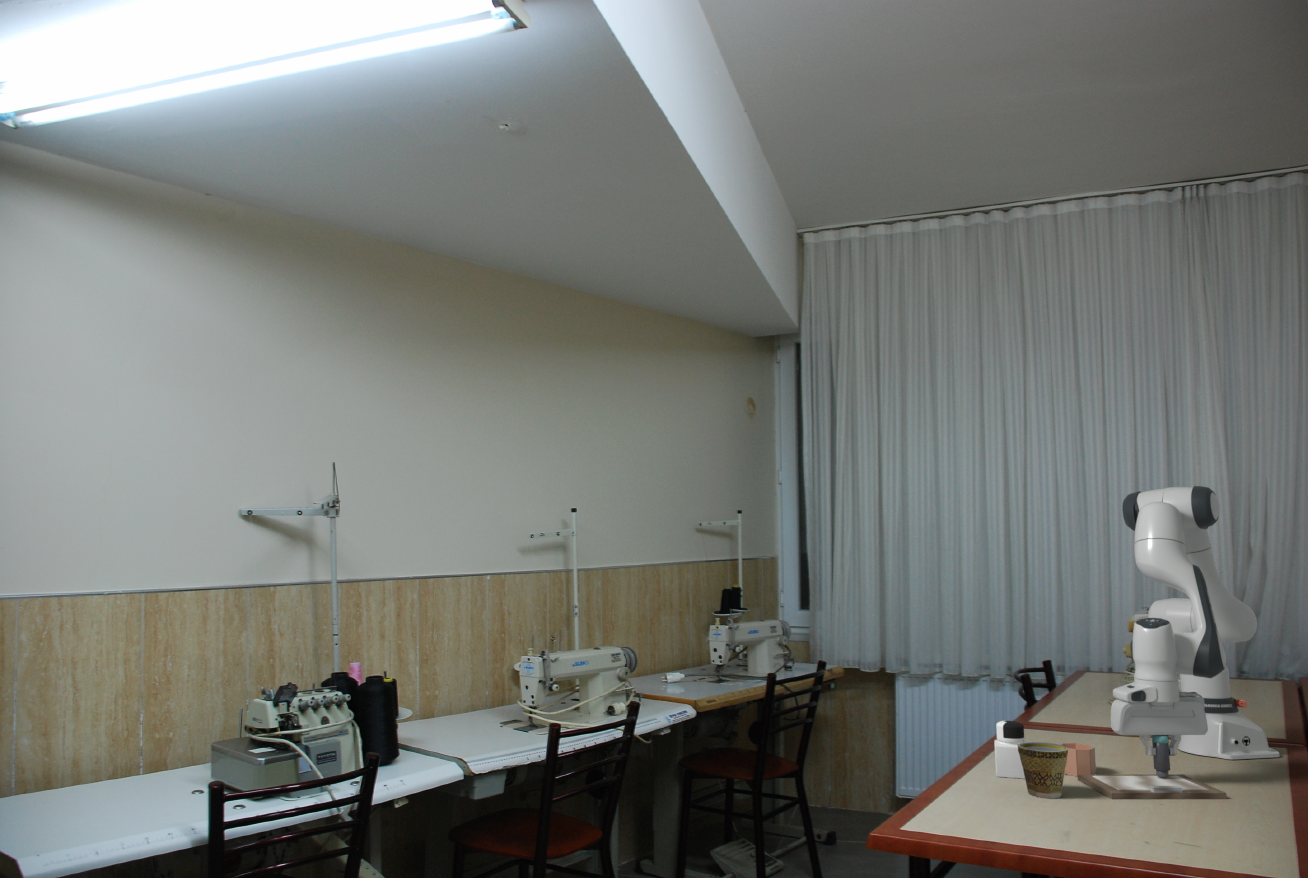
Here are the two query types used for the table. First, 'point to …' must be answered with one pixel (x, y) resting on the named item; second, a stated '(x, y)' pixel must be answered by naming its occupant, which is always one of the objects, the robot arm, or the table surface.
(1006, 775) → the medicine bottle
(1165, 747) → the marker
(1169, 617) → the robot arm
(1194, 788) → the brown picture frame
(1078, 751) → the pen pot
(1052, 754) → the ceramic cup
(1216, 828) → the table surface
